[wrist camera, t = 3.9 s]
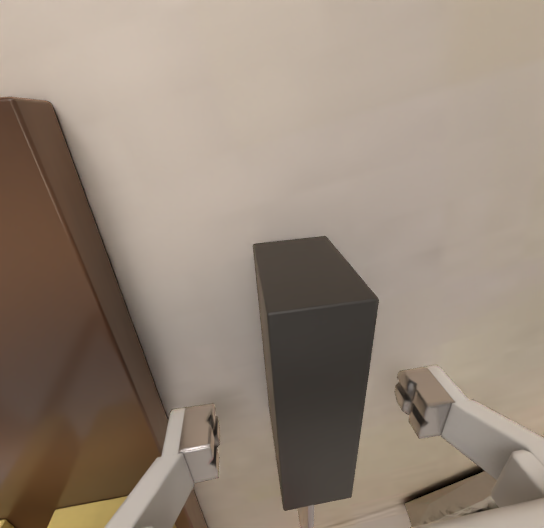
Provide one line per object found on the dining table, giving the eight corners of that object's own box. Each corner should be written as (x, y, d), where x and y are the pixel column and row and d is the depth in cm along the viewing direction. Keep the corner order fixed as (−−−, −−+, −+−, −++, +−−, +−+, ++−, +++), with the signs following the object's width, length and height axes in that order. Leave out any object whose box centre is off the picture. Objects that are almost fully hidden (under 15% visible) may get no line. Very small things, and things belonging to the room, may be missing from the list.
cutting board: (-666, 142, 6) (-929, 149, 4) (52, 100, 7) (12, 96, 6) (5, 597, 19) (-11, 634, 17) (217, 553, 20) (216, 584, 19)
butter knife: (252, 243, 10) (266, 314, 6) (326, 235, 10) (380, 298, 6) (279, 509, 18) (291, 602, 15) (318, 502, 19) (338, 591, 15)
